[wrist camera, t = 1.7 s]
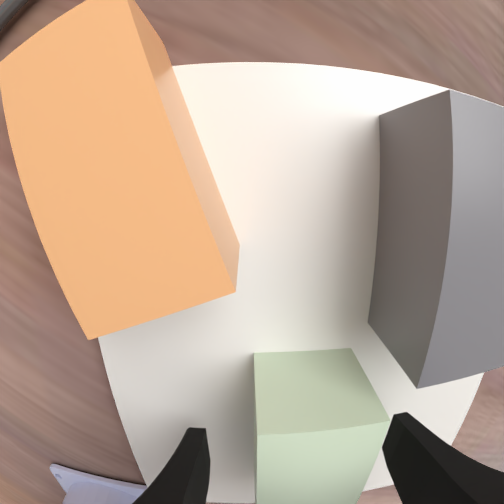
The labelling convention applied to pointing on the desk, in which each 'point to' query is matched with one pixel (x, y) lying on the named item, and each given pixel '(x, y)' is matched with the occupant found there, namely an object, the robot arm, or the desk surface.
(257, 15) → the desk surface
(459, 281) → the charcoal brick
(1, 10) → the walkie-talkie
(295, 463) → the sage brick
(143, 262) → the terracotta brick
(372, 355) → the baseplate
